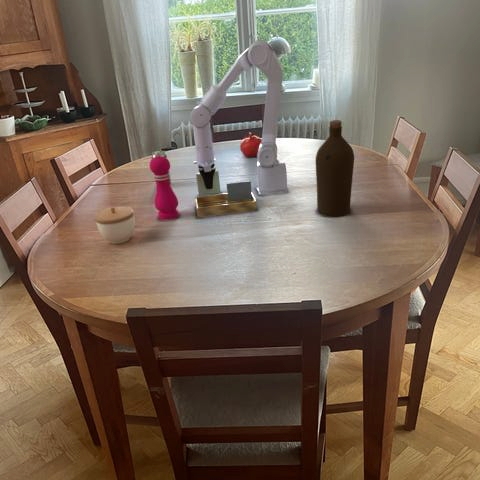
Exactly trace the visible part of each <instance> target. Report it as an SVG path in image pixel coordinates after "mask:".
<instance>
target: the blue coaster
mask: <svg viewBox="0 0 480 480" xmlns="http://www.w3.org/2000/svg"><path fill="white" fill-rule="evenodd" d="M225 185H226V193H227V194H228V202H232V201H240V200H248V199H252V193H253V190H252V181H251V180H243V181H234V182H227V183H226V184H225Z"/></svg>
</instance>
